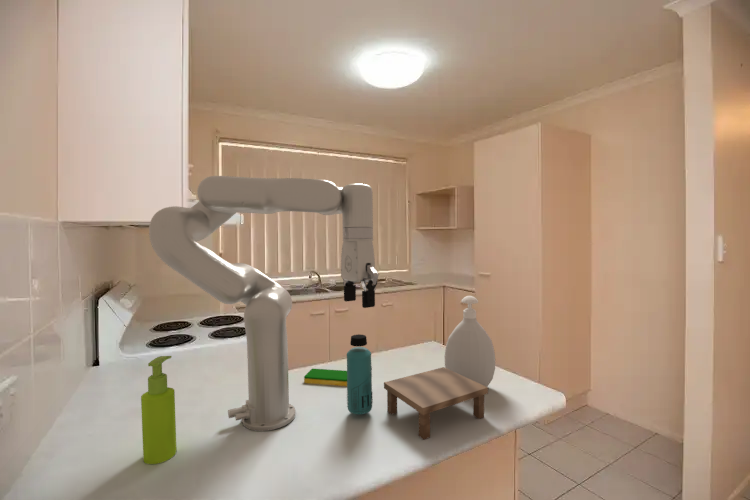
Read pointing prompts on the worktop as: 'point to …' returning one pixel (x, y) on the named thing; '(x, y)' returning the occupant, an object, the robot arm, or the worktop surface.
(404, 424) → the worktop surface
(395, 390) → the footstool
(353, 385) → the beverage bottle
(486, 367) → the soap bottle
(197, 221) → the robot arm
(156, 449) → the soap dispenser
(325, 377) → the dish sponge
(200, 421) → the worktop surface
